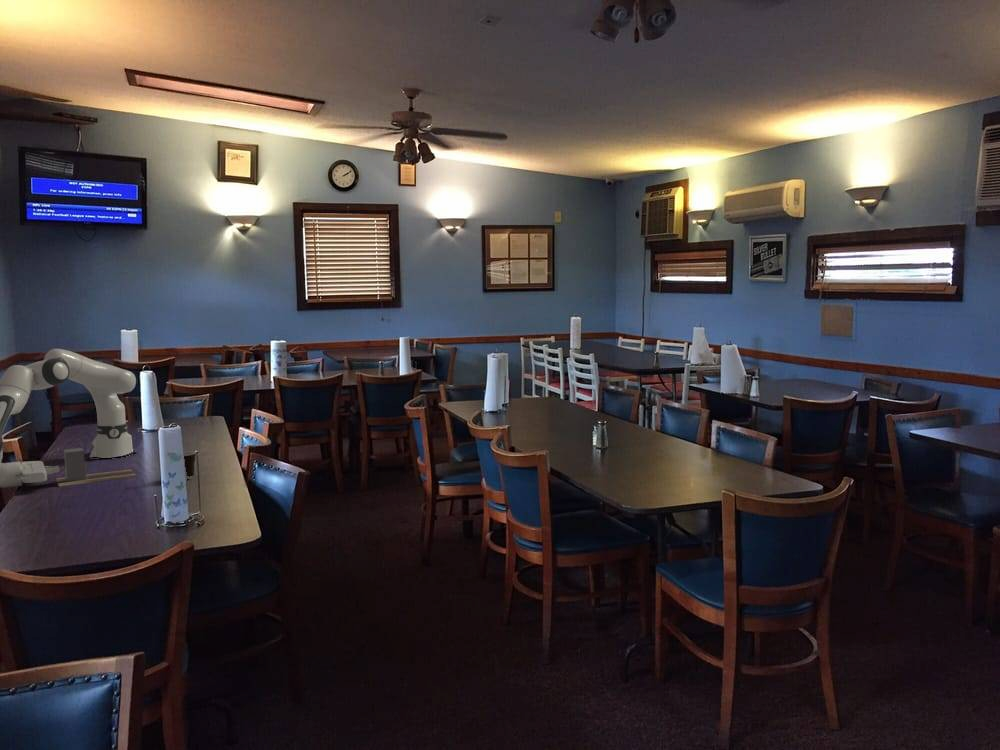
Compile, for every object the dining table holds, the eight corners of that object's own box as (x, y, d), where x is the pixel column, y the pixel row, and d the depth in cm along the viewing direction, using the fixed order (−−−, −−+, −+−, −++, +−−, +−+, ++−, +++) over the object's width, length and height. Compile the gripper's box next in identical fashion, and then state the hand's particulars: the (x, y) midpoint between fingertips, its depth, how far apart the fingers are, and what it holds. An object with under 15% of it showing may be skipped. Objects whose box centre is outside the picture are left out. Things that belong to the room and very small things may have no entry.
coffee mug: (191, 481, 294) (190, 456, 292) (169, 481, 294) (168, 456, 292) (203, 474, 305) (202, 449, 304) (181, 474, 305) (180, 449, 304)
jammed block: (65, 480, 289) (63, 449, 288) (83, 478, 292) (81, 447, 291) (67, 484, 284) (65, 452, 283) (85, 481, 287) (83, 450, 286)
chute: (56, 484, 289) (56, 478, 289) (131, 474, 304) (131, 469, 303) (58, 489, 281) (58, 484, 281) (136, 479, 296) (135, 474, 295)
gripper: (16, 471, 268) (61, 466, 276) (13, 460, 285) (56, 455, 293) (17, 489, 269) (62, 483, 277) (15, 476, 286) (57, 471, 293)
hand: (59, 468), depth 285 cm, fingers closed
